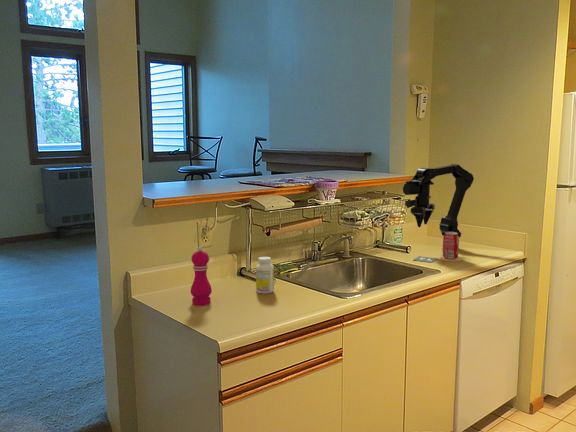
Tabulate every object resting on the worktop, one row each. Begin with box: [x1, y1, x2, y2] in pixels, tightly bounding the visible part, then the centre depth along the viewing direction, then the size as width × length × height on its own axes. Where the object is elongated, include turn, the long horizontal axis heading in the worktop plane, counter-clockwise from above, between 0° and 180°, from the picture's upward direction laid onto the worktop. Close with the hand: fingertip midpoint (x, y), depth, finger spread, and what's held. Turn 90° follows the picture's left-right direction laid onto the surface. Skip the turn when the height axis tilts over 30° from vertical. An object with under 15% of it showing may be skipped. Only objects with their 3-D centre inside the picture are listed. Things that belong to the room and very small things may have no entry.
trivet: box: [439, 255, 463, 263], centre depth 254 cm, size 10×10×1 cm
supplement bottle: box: [255, 256, 275, 295], centre depth 203 cm, size 7×7×13 cm
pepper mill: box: [190, 246, 213, 307], centre depth 189 cm, size 7×7×20 cm
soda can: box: [442, 232, 460, 259], centre depth 253 cm, size 7×7×12 cm
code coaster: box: [412, 255, 439, 264], centre depth 254 cm, size 9×9×1 cm
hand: (422, 225), depth 268 cm, fingers open, 9 cm apart
